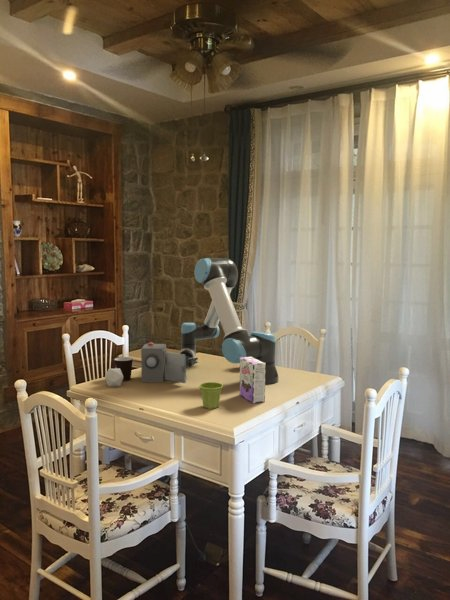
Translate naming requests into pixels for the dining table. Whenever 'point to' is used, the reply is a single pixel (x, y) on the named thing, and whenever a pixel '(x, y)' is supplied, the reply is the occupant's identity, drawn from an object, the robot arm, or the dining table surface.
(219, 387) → the plant pot
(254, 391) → the candy box
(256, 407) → the dining table surface
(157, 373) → the grey inset panel box
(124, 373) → the coffee mug
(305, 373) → the dining table surface
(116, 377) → the die
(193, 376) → the dining table surface
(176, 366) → the side door
